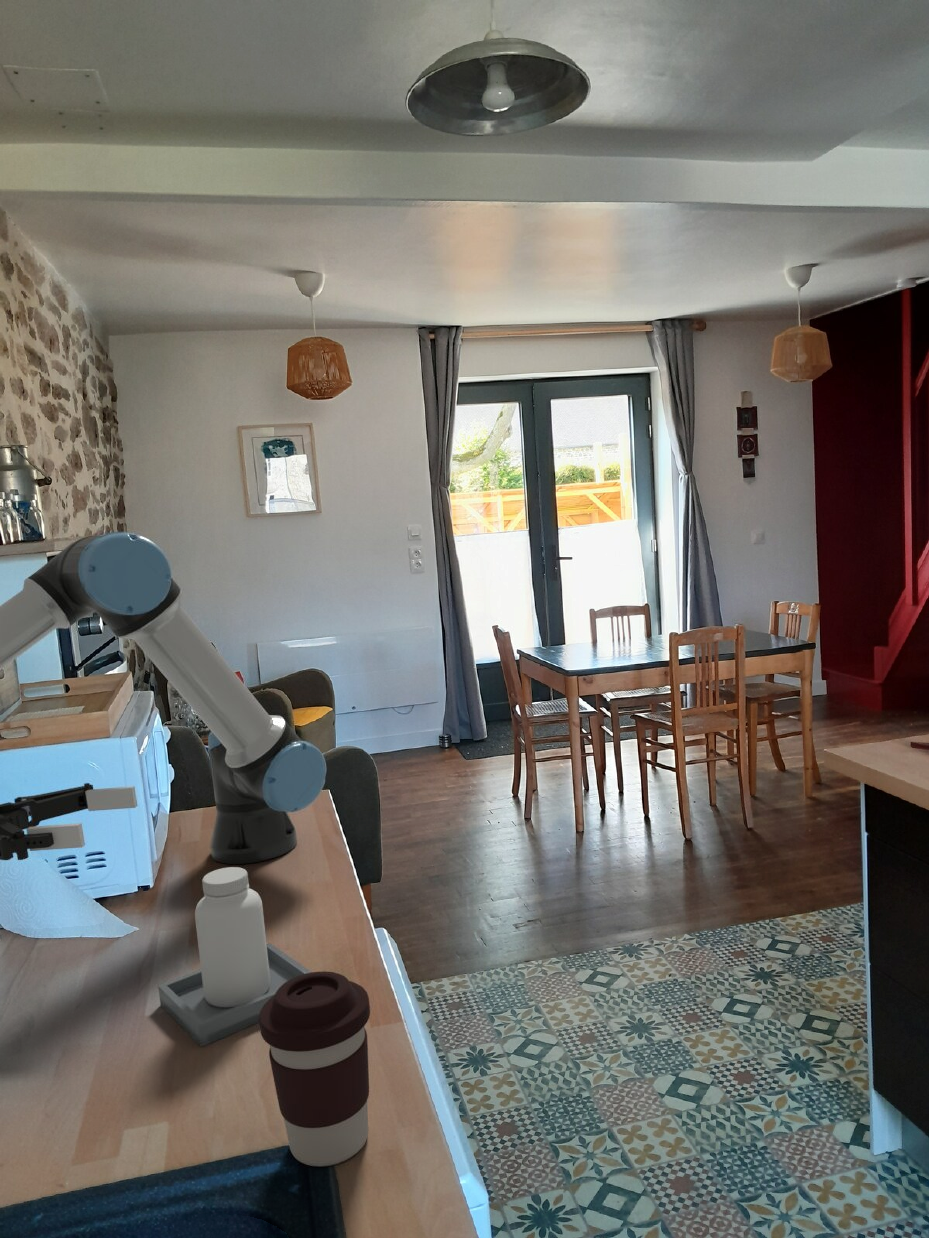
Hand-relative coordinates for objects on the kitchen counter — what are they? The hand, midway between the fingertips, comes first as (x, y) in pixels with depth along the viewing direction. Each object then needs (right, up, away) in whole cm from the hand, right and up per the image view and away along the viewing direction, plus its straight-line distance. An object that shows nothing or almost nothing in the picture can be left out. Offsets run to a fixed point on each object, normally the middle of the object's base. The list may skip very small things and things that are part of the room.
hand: (110, 814), depth 115 cm
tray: (+17, -22, -2) cm, 28 cm away
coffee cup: (+32, -24, -30) cm, 50 cm away
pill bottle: (+17, -21, -2) cm, 27 cm away
